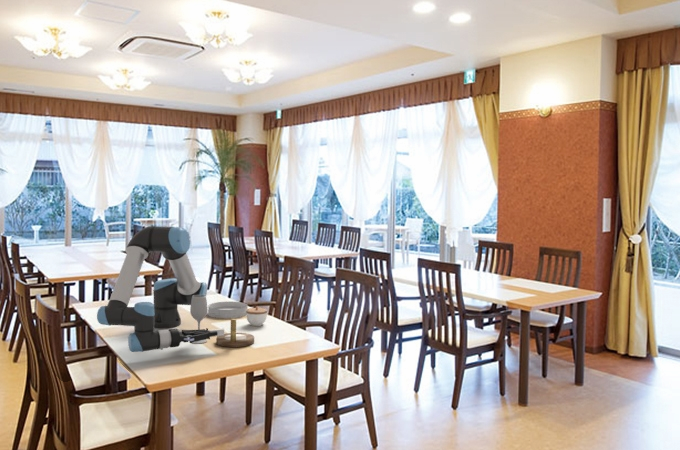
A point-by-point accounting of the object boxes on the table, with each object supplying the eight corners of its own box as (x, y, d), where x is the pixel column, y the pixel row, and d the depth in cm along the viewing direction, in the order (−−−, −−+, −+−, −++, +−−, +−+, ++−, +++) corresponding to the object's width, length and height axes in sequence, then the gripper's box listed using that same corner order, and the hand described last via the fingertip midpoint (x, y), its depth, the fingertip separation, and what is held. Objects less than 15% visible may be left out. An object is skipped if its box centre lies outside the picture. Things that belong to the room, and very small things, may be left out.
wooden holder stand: (210, 339, 244) (211, 313, 244) (245, 335, 253) (245, 310, 253) (224, 349, 230) (224, 321, 229) (260, 344, 239) (260, 317, 239)
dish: (244, 309, 312) (245, 300, 312) (250, 317, 292) (250, 308, 291) (206, 310, 305) (206, 302, 305) (209, 319, 284) (209, 310, 284)
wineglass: (192, 344, 237) (192, 298, 235) (188, 340, 243) (188, 295, 242) (209, 342, 240) (209, 296, 239) (205, 338, 247) (205, 293, 246)
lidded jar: (262, 327, 269) (263, 309, 269) (242, 326, 271) (243, 308, 271) (269, 323, 280) (270, 305, 279) (250, 321, 282) (250, 304, 281)
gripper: (164, 343, 224) (218, 336, 237) (173, 351, 213) (228, 344, 226) (164, 326, 224) (218, 320, 237) (173, 333, 213) (229, 326, 226)
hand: (223, 331), depth 231 cm, fingers closed
